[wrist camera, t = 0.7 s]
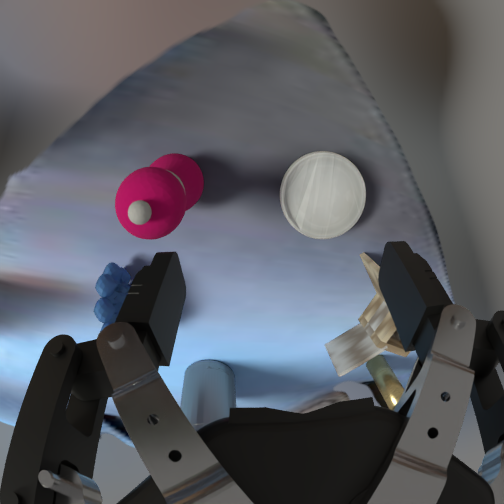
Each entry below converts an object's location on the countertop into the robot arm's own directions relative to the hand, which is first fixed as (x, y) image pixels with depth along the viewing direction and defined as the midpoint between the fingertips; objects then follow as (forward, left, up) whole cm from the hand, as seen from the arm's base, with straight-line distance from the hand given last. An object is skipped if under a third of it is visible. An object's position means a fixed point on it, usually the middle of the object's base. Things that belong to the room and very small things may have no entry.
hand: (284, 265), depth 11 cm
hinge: (-10, -29, -30) cm, 43 cm away
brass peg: (-19, -40, -30) cm, 53 cm away
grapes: (-22, +7, -30) cm, 38 cm away
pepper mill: (-4, +7, -30) cm, 31 cm away
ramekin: (+3, -10, -30) cm, 32 cm away
